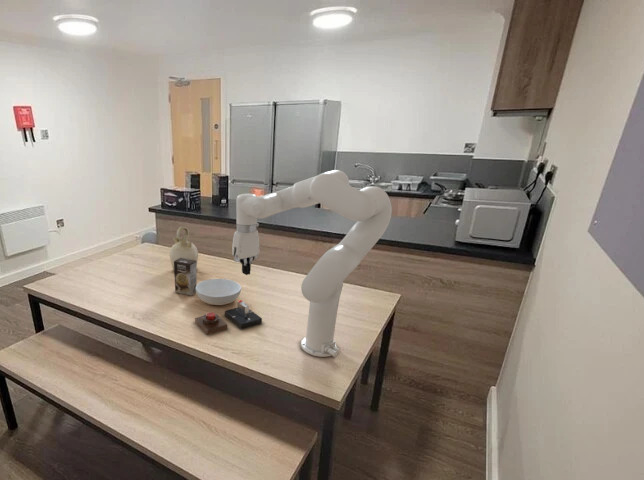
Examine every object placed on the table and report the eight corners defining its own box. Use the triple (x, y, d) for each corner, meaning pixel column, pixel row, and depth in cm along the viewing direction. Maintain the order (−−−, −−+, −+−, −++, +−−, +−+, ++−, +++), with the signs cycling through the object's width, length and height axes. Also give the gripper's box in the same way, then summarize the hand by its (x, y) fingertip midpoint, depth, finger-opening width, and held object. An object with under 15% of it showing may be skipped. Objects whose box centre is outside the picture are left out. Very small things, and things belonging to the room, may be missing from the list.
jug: (166, 268, 213) (164, 225, 203) (192, 263, 218) (190, 221, 209) (176, 277, 200) (173, 231, 190) (202, 272, 206) (201, 228, 196)
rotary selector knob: (248, 316, 154) (249, 305, 152) (244, 318, 153) (245, 306, 151) (241, 310, 159) (241, 299, 157) (237, 311, 158) (237, 300, 156)
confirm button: (216, 318, 151) (216, 315, 150) (208, 321, 149) (208, 317, 148) (212, 315, 154) (212, 311, 153) (204, 317, 152) (204, 313, 151)
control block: (227, 329, 150) (227, 320, 149) (207, 334, 146) (207, 325, 145) (214, 317, 159) (214, 309, 158) (195, 322, 155) (194, 314, 154)
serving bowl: (248, 296, 178) (248, 283, 175) (227, 315, 161) (227, 300, 158) (210, 287, 187) (210, 274, 185) (186, 304, 171) (186, 290, 168)
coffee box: (174, 292, 183) (172, 261, 176) (181, 287, 188) (180, 257, 181) (190, 296, 179) (189, 264, 172) (197, 291, 184) (196, 259, 178)
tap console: (261, 323, 154) (262, 317, 153) (240, 329, 150) (240, 323, 149) (244, 310, 165) (244, 305, 164) (224, 316, 160) (224, 310, 159)
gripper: (257, 223, 147) (256, 267, 154) (224, 228, 140) (224, 274, 147) (268, 227, 141) (267, 272, 148) (235, 233, 134) (235, 280, 141)
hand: (246, 273), depth 147 cm, fingers closed
